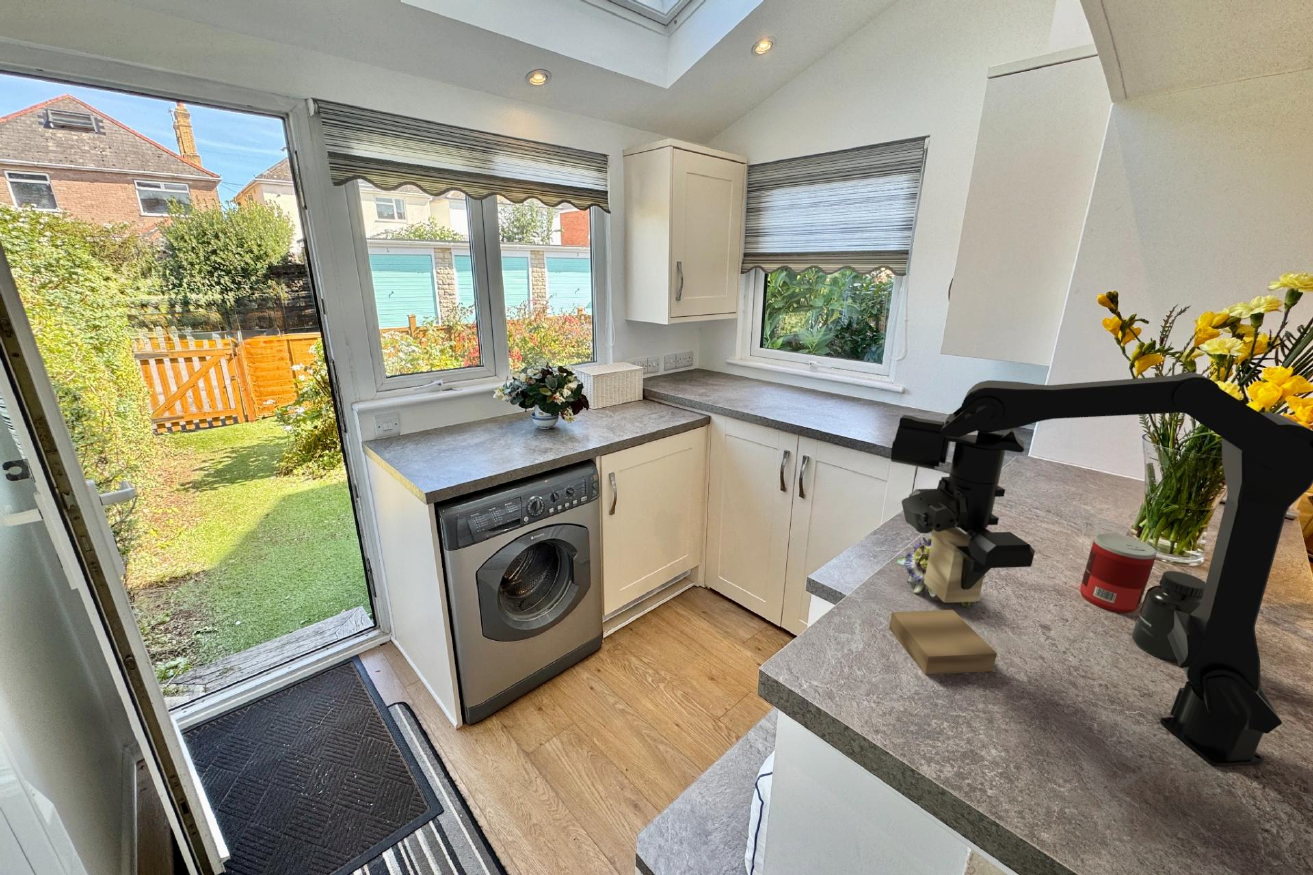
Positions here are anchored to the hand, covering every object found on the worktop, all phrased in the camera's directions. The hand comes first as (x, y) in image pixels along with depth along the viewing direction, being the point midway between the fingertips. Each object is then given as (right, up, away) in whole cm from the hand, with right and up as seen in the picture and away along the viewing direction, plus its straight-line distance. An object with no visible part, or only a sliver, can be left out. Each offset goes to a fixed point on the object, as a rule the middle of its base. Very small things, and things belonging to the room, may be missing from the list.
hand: (953, 578), depth 75 cm
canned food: (+36, -8, +16) cm, 40 cm away
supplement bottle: (+34, -12, +5) cm, 36 cm away
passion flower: (+8, -7, +19) cm, 21 cm away
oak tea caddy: (0, -2, +1) cm, 2 cm away
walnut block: (0, -11, +4) cm, 12 cm away
